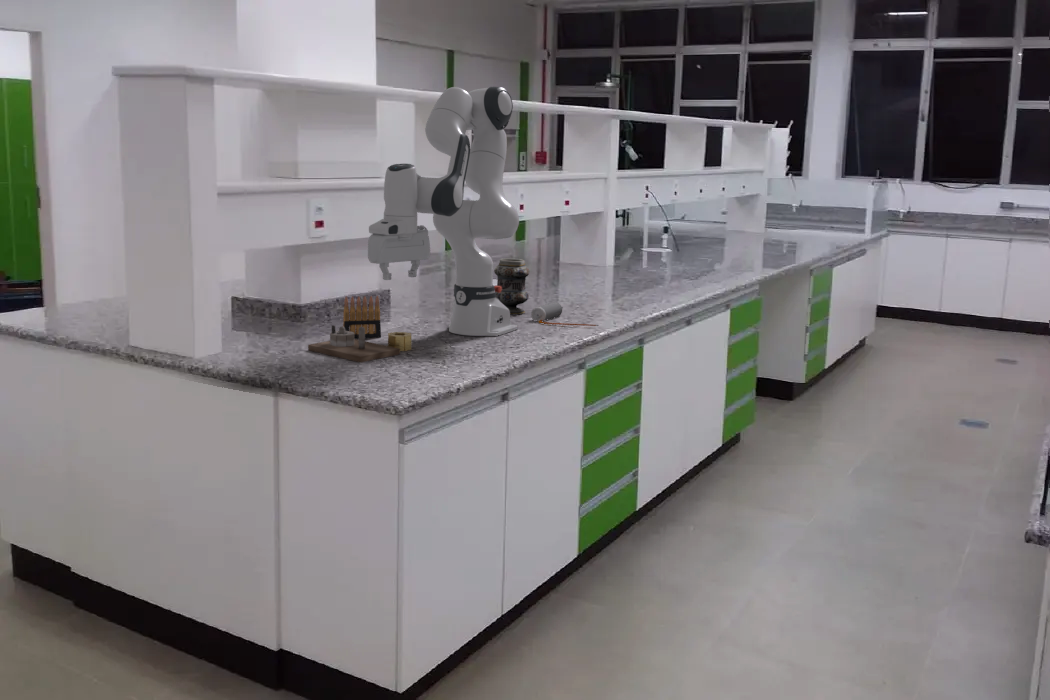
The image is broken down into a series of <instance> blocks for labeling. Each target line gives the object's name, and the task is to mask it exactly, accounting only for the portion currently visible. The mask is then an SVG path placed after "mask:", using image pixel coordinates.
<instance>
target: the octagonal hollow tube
mask: <svg viewBox="0 0 1050 700" xmlns="http://www.w3.org/2000/svg"><path fill="white" fill-rule="evenodd" d="M387 336H388V337H387V346H390V347H394V348H399V349H400V352H407V351H411V350H412V333H411V332H408V331H407V332H406V331H392V332H388V333H387Z"/></svg>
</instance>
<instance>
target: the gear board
mask: <svg viewBox="0 0 1050 700" xmlns="http://www.w3.org/2000/svg"><path fill="white" fill-rule="evenodd" d="M338 329H339V330H336V325H331V331H330V333H329V335H330V336H329V337H330V338H329V340H327V341H321V342H317V343H310V344H307V347H308V348H307V350H308V351H310V352H313V353H314V352H315V353H318V354H323V355H327V356H332V357H335V358H341V359H344V360H348V361H353V362H357V363H364V362H369V361H373V360H379V359H384V358H389V357H393V356H394V357H395V356H397V355H400V354H401V351H400V349H399V348H394V347H390V346H388V345H383V344H379V343H376V342H375V343H374V342H371V341H366V338H365V328H364V327H360V328H359V338H356V339H354V332H350V330H349V331H345V327H343V325H342V326H340V327H338Z"/></svg>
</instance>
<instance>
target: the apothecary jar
mask: <svg viewBox="0 0 1050 700" xmlns="http://www.w3.org/2000/svg"><path fill="white" fill-rule="evenodd" d="M493 273H494V274H495V275H496V276H497V279H496V281H497V282H496V283H497V284H496V286H501V287H502V288H501V289H502V291H501V292H500V293H498V292H496V298H497V299H498V300H499V301H500V302H501V303H502V304H503V305H505V306H506V307H507V308H508V309H509V311H510V314H517V315H523V314H526V311H525V310H524V309H523V308H520V307H518V305H521V304H524V303H526V302H527V301H528V300H529V297H530V295H529V293H528V291H527V290H526V278H527V277H528V275H530V269H529V268H528V266H527V265H526V260H524V259H520V258H507V257H506V258H500V259H499V262H498V265H497V266H495V267H494V268H493Z"/></svg>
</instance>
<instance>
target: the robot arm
mask: <svg viewBox="0 0 1050 700" xmlns="http://www.w3.org/2000/svg"><path fill="white" fill-rule="evenodd" d="M513 104H514V103H513V99H512V96H511V94H510V93H509V92H508V91H507V89H506V88H505V87H501V86H490V87H484V88H478V89H473V90H471V91H466V89H463V88H461V87H458V86H452V87H449V88H448V87H447V89H445V90H444V91H443V92H442V93H441V95H440V96H439V98H438V99H437V100H436V101H435V104H434V105H433V107H432V110H431V112H430V114H429V116H428V118H427V120H426V123H425V128H424V129H425V136H426V138H427V141H428V142H429V144H430V145H431V146H432V147H433V148H434V149H435V150H437V151H438V152H440V153H443V154H445V155H447V156H450V159H449V164H448V169H447V172H446V174H445V175H444V176H442V177H425V176H421V175H419V174H418V173H417V168H416V166H415V165H414V164H412V163H396V164H395V163H393V164H391V165H390V166H388V167H387V168H386V171H385V177H384V183H383V186H384V187H383V200H384V204H385V205H384V206H385V207H384V212H383V218H382V219H380V220H378V221H376V222H374V223H372V224H370V225H369V226H368V233H369V234H370V235H369V237H368V242H367V259H368V261H369V262H370V263H371V264H376V265H377V264H379V265H378V266H379V268H380V271H381V273H382V279H383V280H384V281H391V280H392V272H390V271H389V269H388V268H389V267H390V263H393V264H394V263H403V262H410V264H411V266H410V269H409V270H407V272H408V273H407V276H408V277H409V278H417V272H418V269H419V267H420V265H421V261H425V260H429V258H430V257H431V243H430V242H431V241H430V237H429V230H428V227H426V226H424V225H418V213H419V214H428V215H429V214H430V215H432V222H433V225H434V228H435V229H436V231H437V233H438V234H440V235H441V236H442V237H443V238H444V239H445V240H446V241H447V243H448V244H449V246H450V249H451V250H452V254H453V258H454V266H455V284H454V285H453V297H454V300H453V303H452V306H451V307H452V308H451V314H450V315H451V316H450V323H448V326H447V327H448V332H450V333H452V334H456V335H461V336H471V337H472V336H476V337H477V336H479V337H480V336H481V337H483V336H485V337H486V336H487V337H497V336H498V335H499V336H502V335H505V334H507V333H510V332H513V331H517V330H518V329H519V325H517V324H514V323H511V315H510V311H509V309H508V308H507V307H506V306H505V305H503V304H502V303H501V302H500V301H499V300H498V299H497V298H496V292H498V293H500V292H501V291H502V289H501V288H502V287H501V286H497V285H493V283H494V281H493V280H494V279H493V278H494V262H493V258H492V257H491V256H490V255H489V253H487V252H486V251H485V250H482V249H480V248H479V246H478V245H477V243H476V239H479V240H480V239H482V240H483V239H484V240H503V239H508V238H512V237H513V236H514V235H515V233H516V232H517V231H518V229H519V228H518V227H519V225H520V216H519V213H518V211H517V209H516V208H515V207H514V205H513V204H512V203H510V202H509V200H508V199H507V197H506V196H505V193H504V190H503V179H504V171H505V167H506V160H507V152H508V151H507V149H508V146H507V145H508V144H507V143H508V140H507V139H508V137H507V133H506V131H505V129H506V127H507V126H508V125H509V122H510V120H511V117H512V113H513V108H514V107H513V106H514V105H513ZM467 131H472V133H473V140H472V143H471V142H470V138H469V136H468V135H467V134H466V132H467ZM465 184H466V186H467V187H468V188H469V189H470V190H471V191H473V192H475V193H476V194H478V195H479V198H478V199H477V200H474V199H473V200H471V199H464V193H465V192H464V191H465V190H464V188H465Z"/></svg>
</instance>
